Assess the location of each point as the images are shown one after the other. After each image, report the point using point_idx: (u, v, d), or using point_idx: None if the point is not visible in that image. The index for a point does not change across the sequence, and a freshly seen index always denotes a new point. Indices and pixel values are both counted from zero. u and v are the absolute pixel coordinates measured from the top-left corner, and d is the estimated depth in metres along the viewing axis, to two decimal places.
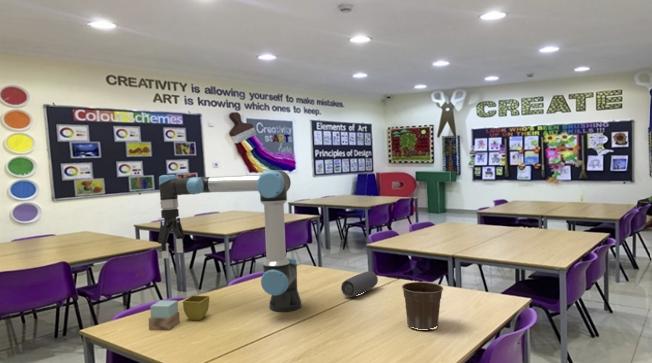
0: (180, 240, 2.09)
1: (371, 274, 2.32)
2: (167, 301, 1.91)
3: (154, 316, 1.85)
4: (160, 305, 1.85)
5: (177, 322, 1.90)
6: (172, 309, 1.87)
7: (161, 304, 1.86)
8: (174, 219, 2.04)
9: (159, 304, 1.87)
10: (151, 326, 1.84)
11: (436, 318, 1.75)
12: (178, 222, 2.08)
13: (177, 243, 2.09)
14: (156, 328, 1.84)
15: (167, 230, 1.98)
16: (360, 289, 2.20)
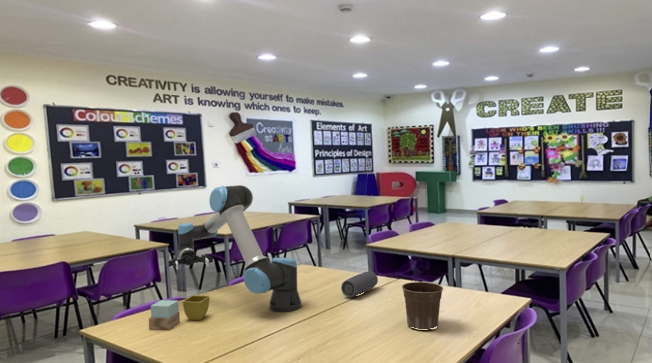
0: (205, 259, 2.13)
1: (371, 274, 2.32)
2: (168, 301, 1.91)
3: (155, 316, 1.85)
4: (161, 305, 1.85)
5: (177, 322, 1.90)
6: (172, 309, 1.87)
7: (162, 304, 1.86)
8: None
9: (160, 304, 1.87)
10: (151, 326, 1.84)
11: (436, 318, 1.75)
12: (201, 256, 2.21)
13: (205, 263, 2.12)
14: (156, 328, 1.84)
15: None
16: (360, 289, 2.20)
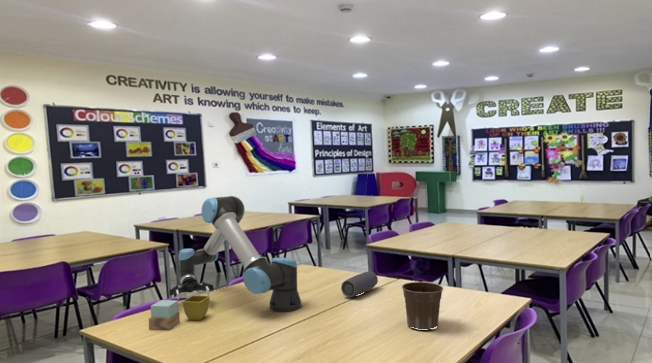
0: (206, 287, 2.14)
1: (371, 274, 2.32)
2: (168, 301, 1.91)
3: (155, 316, 1.85)
4: (161, 305, 1.85)
5: (177, 322, 1.90)
6: (172, 309, 1.87)
7: (162, 304, 1.86)
8: None
9: (160, 304, 1.87)
10: (151, 326, 1.84)
11: (436, 318, 1.75)
12: (202, 283, 2.21)
13: (206, 291, 2.13)
14: (156, 328, 1.84)
15: None
16: (360, 289, 2.20)
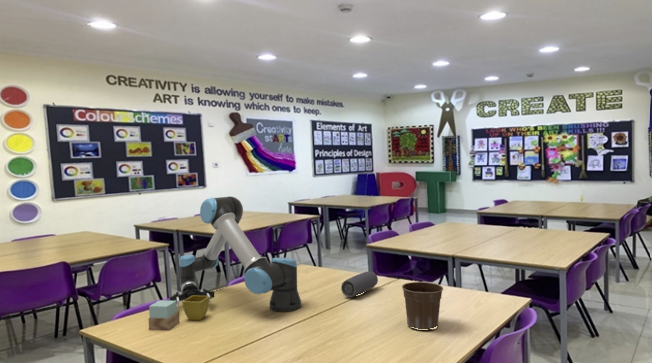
0: (206, 294, 2.10)
1: (371, 274, 2.32)
2: (166, 301, 1.90)
3: (153, 316, 1.85)
4: (159, 305, 1.85)
5: (177, 322, 1.90)
6: (171, 309, 1.87)
7: (160, 304, 1.86)
8: None
9: (158, 304, 1.87)
10: (151, 326, 1.84)
11: (436, 318, 1.75)
12: (203, 290, 2.18)
13: None
14: (156, 328, 1.84)
15: None
16: (360, 289, 2.20)
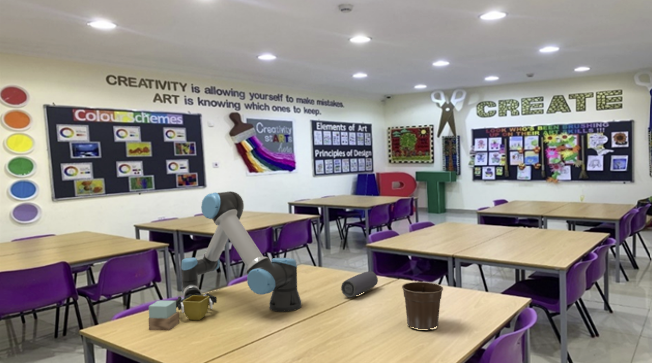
0: None
1: (371, 274, 2.32)
2: (165, 301, 1.91)
3: (153, 316, 1.85)
4: (159, 305, 1.85)
5: (177, 322, 1.90)
6: (170, 309, 1.87)
7: (160, 304, 1.86)
8: (197, 294, 2.09)
9: (158, 304, 1.87)
10: (151, 326, 1.84)
11: (436, 318, 1.75)
12: (206, 295, 2.09)
13: (209, 304, 1.99)
14: (156, 328, 1.84)
15: None
16: (360, 289, 2.20)
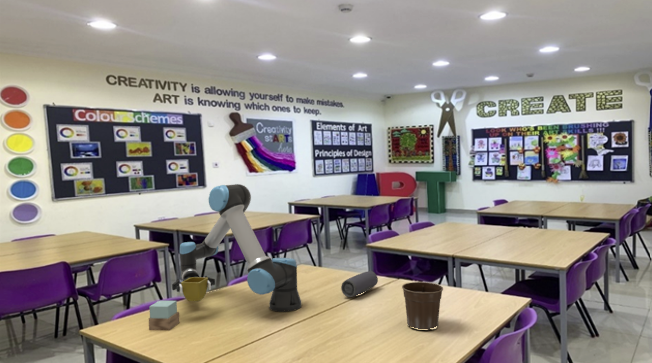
0: None
1: (371, 274, 2.32)
2: (166, 301, 1.90)
3: (153, 316, 1.84)
4: (160, 305, 1.85)
5: (177, 322, 1.90)
6: (171, 309, 1.87)
7: (160, 305, 1.86)
8: None
9: (158, 304, 1.86)
10: (151, 326, 1.84)
11: (436, 318, 1.75)
12: None
13: (207, 286, 1.99)
14: (156, 328, 1.84)
15: None
16: (360, 289, 2.20)
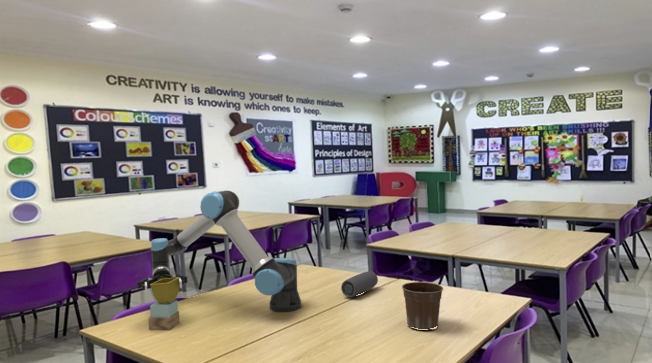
0: None
1: (371, 274, 2.32)
2: None
3: (154, 315, 1.85)
4: (160, 305, 1.85)
5: (177, 321, 1.90)
6: (172, 308, 1.87)
7: (161, 304, 1.86)
8: None
9: (159, 303, 1.87)
10: (151, 326, 1.84)
11: (436, 318, 1.75)
12: (175, 275, 2.00)
13: (179, 284, 1.91)
14: (156, 328, 1.84)
15: None
16: (360, 289, 2.20)
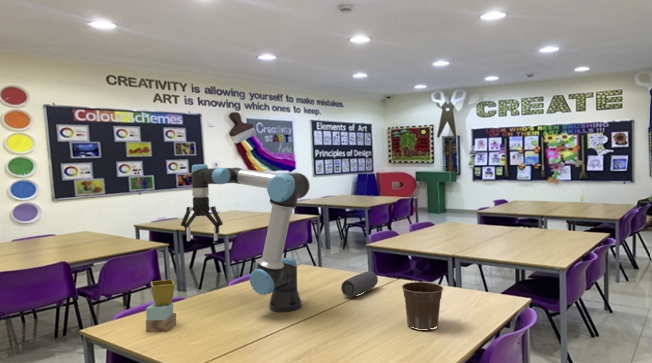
0: None
1: (371, 274, 2.32)
2: None
3: (150, 318, 1.82)
4: (157, 307, 1.82)
5: (174, 323, 1.89)
6: (168, 310, 1.85)
7: (157, 306, 1.83)
8: (203, 207, 2.12)
9: (155, 306, 1.84)
10: (148, 328, 1.82)
11: (436, 318, 1.75)
12: (212, 210, 2.12)
13: None
14: (153, 330, 1.82)
15: None
16: (360, 289, 2.20)
